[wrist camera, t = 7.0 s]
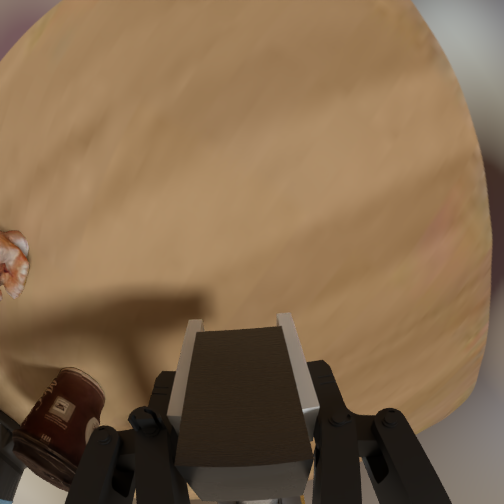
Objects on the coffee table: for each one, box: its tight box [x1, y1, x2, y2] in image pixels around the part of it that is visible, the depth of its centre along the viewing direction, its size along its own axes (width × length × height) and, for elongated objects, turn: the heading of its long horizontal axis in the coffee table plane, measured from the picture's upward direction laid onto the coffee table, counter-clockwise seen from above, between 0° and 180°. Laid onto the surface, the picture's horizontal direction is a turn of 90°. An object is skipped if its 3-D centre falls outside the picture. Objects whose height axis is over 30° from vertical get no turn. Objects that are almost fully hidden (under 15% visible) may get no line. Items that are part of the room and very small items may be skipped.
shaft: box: [174, 326, 314, 504], centre depth 13 cm, size 4×22×7 cm, turn 4°
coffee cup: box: [12, 368, 105, 492], centre depth 18 cm, size 9×8×13 cm
